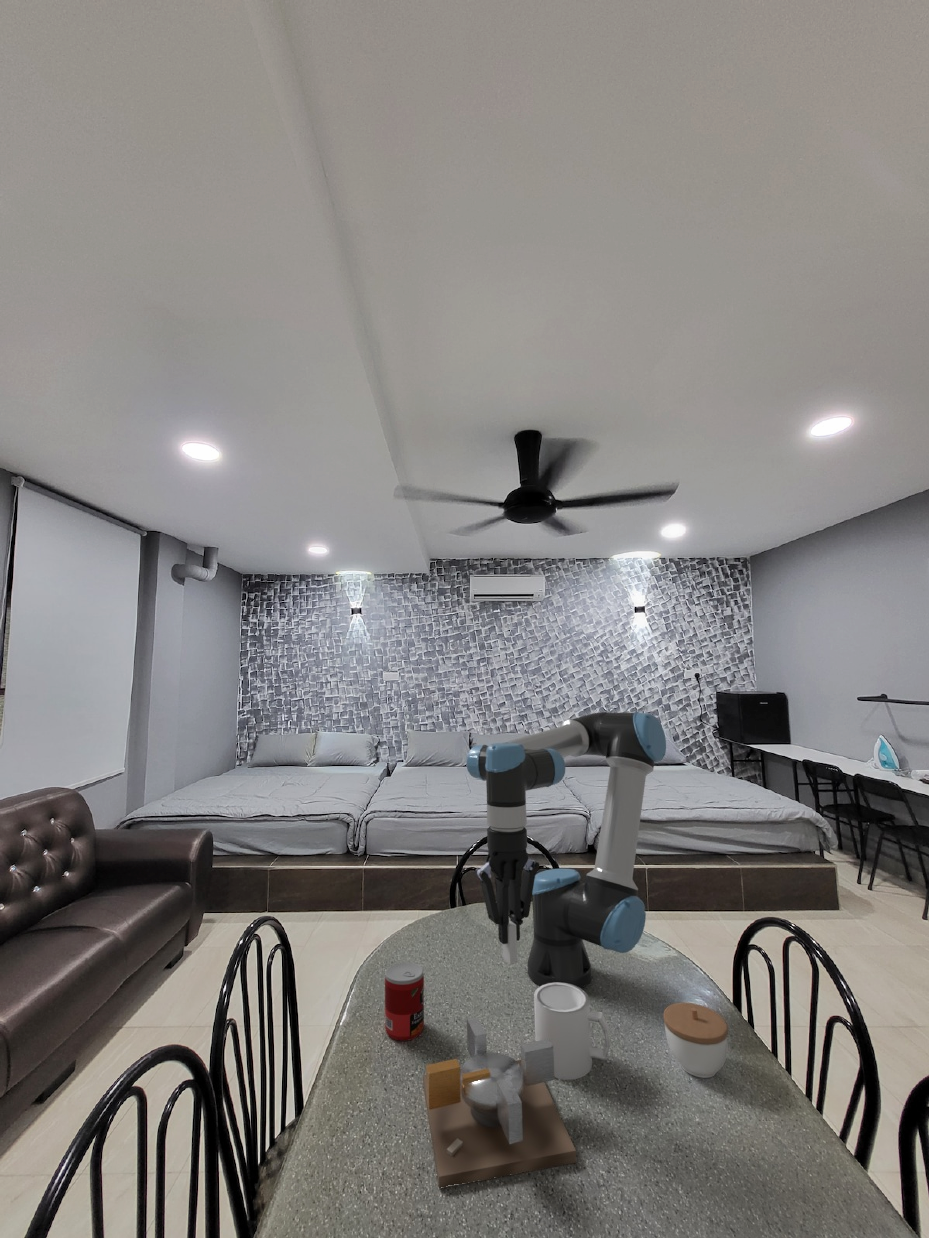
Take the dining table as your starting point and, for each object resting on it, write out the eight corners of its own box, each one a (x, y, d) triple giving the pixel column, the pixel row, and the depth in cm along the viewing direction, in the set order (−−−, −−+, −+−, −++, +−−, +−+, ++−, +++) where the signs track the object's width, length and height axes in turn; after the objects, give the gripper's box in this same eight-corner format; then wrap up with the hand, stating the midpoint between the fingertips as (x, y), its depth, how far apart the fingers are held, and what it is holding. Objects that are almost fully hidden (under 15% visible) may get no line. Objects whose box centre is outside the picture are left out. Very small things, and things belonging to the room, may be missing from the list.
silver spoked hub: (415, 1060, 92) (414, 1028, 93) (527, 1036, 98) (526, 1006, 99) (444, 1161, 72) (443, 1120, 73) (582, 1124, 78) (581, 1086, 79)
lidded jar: (726, 1052, 99) (722, 998, 100) (735, 1093, 89) (730, 1032, 90) (665, 1041, 103) (662, 988, 104) (666, 1079, 93) (663, 1021, 94)
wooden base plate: (533, 1066, 96) (532, 1042, 97) (576, 1161, 77) (575, 1131, 77) (423, 1084, 93) (422, 1059, 93) (439, 1188, 73) (438, 1156, 74)
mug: (612, 1050, 100) (609, 989, 102) (609, 1088, 91) (606, 1020, 92) (540, 1037, 105) (538, 978, 106) (531, 1073, 95) (529, 1008, 96)
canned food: (418, 1043, 103) (417, 982, 105) (379, 1039, 105) (379, 979, 106) (428, 1019, 111) (428, 963, 112) (392, 1016, 112) (391, 959, 114)
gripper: (525, 818, 107) (528, 944, 104) (467, 826, 102) (469, 959, 99) (546, 826, 101) (551, 961, 98) (485, 835, 95) (488, 978, 92)
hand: (509, 960), depth 98 cm, fingers closed
